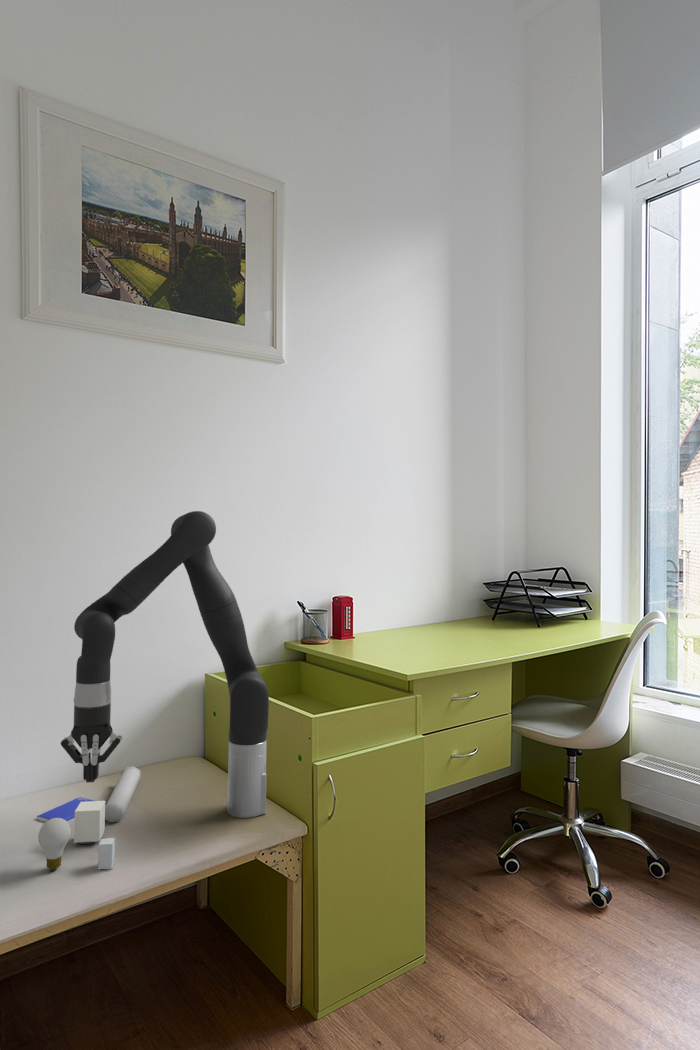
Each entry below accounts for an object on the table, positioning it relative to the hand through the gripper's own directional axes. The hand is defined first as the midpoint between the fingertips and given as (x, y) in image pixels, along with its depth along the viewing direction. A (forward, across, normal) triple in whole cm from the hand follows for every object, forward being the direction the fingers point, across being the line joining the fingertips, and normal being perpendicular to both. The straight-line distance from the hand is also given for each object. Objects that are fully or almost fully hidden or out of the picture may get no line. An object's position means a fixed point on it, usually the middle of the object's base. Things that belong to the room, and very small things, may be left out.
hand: (90, 781), depth 142 cm
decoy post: (+13, -6, +12) cm, 19 cm away
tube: (+14, -3, -21) cm, 25 cm away
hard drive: (+14, +8, -16) cm, 23 cm away
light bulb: (+13, +4, +12) cm, 18 cm away
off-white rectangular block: (+12, 0, 0) cm, 12 cm away
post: (+13, 0, 0) cm, 13 cm away
